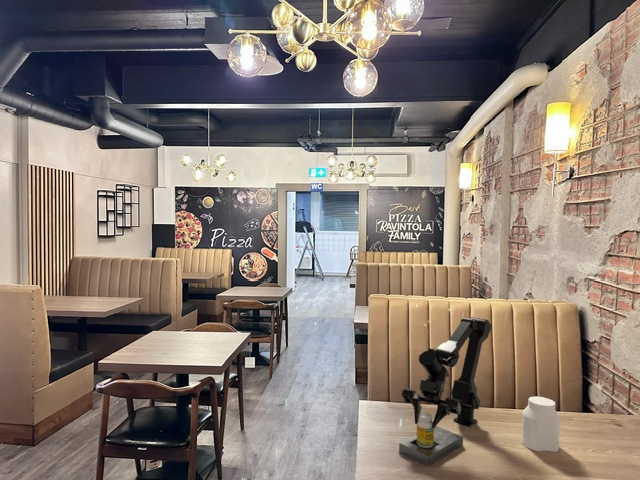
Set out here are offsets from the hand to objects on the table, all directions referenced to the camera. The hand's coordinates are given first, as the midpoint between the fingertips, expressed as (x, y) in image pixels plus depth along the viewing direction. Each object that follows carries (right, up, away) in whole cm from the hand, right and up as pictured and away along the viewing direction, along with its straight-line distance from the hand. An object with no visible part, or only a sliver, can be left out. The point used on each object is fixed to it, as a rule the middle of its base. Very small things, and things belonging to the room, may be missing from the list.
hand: (424, 425), depth 147 cm
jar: (+41, -10, +9) cm, 43 cm away
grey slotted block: (+3, -9, +3) cm, 10 cm away
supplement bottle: (+1, -7, +1) cm, 7 cm away
